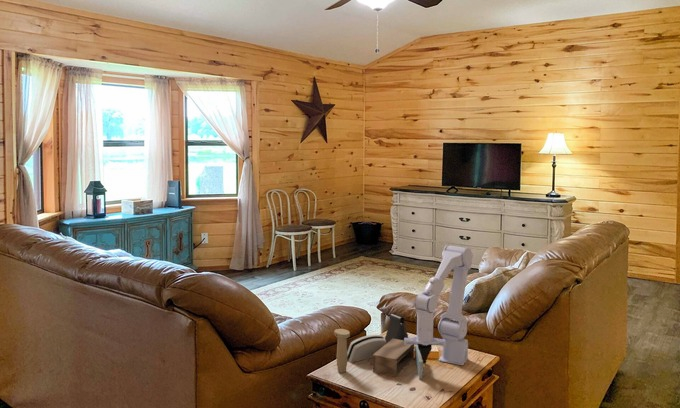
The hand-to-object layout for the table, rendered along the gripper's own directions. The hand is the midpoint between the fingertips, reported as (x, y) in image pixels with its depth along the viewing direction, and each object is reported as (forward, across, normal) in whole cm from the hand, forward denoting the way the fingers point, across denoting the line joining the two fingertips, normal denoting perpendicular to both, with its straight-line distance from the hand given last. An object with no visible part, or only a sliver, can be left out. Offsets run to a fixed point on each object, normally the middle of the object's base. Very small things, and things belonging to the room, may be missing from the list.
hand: (424, 364), depth 202 cm
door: (+4, -1, +5) cm, 6 cm away
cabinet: (+4, -11, +7) cm, 14 cm away
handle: (+4, -30, 0) cm, 30 cm away
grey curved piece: (+4, -21, +14) cm, 26 cm away
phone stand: (+4, -10, +30) cm, 32 cm away
